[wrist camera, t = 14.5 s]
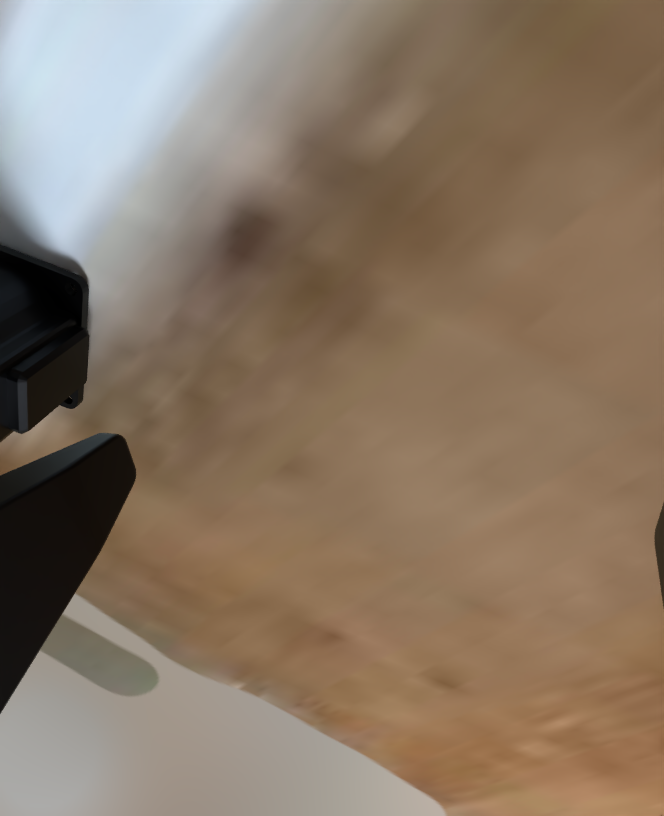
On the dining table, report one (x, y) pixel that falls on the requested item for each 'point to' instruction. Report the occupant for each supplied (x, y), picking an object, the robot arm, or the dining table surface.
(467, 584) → the dining table surface
